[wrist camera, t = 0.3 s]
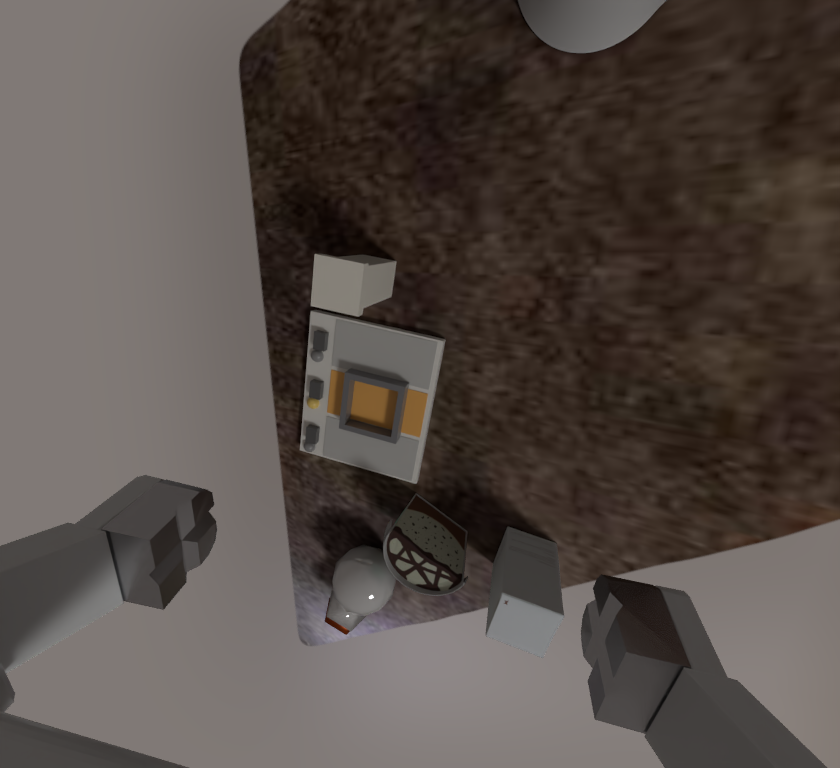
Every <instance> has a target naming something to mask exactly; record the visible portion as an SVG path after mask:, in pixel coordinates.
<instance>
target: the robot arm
mask: <svg viewBox="0 0 840 768" xmlns="http://www.w3.org/2000/svg"><path fill="white" fill-rule="evenodd" d="M665 1H666V0H518V3H519V6H520V9H521V11H522V14H523V16H524V18H525V20H526V22H527V23H528V25H529V26H530V28H531V29H532V31H533V32H534V33H535V34H536V35H537V36H538V37H539V38H540V39H541V40H543V41H544V42H545V43H547V44H548V45H550V46H552V47H554V48H556V49H559V50H562V51H566V52H571V53H589V52H595V51H599V50H603V49H606V48H608V47H611V46H613V45H615V44H617V43H619V42H621V41H622V40H624V39H626V38H627V37H629V36H630V35H632V34H633V33H634V32H635V31H637V30H638V29H639V28H640V27H641V26H642V25H643V24H644V23H645V22H646V21H647V20H648V19H649V18H650V17H651V16H652V15H653V14H654V13H655V11H656V10H657V9H658V8H659V7H660V6H661V5H662V4H663V3H664V2H665ZM213 506H214V502H213V495H212V492H210V491H208V490H206V489H202V488H198V487H194V486H190V485H186V484H182V483H178V482H174V481H170V480H163V479H159V478H155V477H151V476H147V475H144V476H140V477H137V478H135V479H134V480H133V481H131V482H130V483H128V484H127V485H126V486H124V487H123V488H122V489H121V490H119V491H118V492H117V493H115V494H114V495H113V496H111V497H110V498H109V499H107V500H106V501H105V502H103V503H102V504H101V505H99V506H98V507H97V508H96V509H94V510H93V511H92V512H90V513H89V514H88V515H86V516H85V517H84V518H82V519H81V520H80V521H79V522H77V523H76V524H71V523H66V524H63V525H60V526H57V527H54V528H51V529H48V530H45V531H42V532H40V533H37V534H34V535H31V536H28V537H25V538H22V539H19V540H16V541H13V542H10V543H8V544H5V545H2V546H0V768H188V767H185V766H182V765H178V764H175V763H171V762H168V761H164V760H161V759H158V758H155V757H151V756H148V755H144V754H141V753H138V752H135V751H131V750H128V749H125V748H121V747H118V746H115V745H111V744H108V743H105V742H101V741H98V740H95V739H91V738H88V737H84V736H81V735H78V734H74V733H71V732H68V731H64V730H61V729H57V728H54V727H51V726H48V725H44V724H41V723H38V722H34V721H31V720H28V719H24V718H21V717H17V716H14V715H11V714H7V713H4V712H5V710H6V709H7V708H8V707H9V706H10V705H11V704H12V703H13V702H14V696H15V692H14V691H13V688H12V686H11V684H10V682H9V679H8V677H7V675H6V673H8V672H10V671H11V670H13V669H15V668H16V667H18V666H20V665H21V664H23V663H25V662H26V661H28V660H30V659H31V658H33V657H35V656H36V655H38V654H40V653H41V652H43V651H45V650H46V649H48V648H50V647H52V646H53V645H55V644H56V643H58V642H60V641H61V640H63V639H65V638H66V637H68V636H70V635H72V634H73V633H75V632H77V631H78V630H80V629H82V628H83V627H85V626H87V625H88V624H90V623H92V622H93V621H95V620H97V619H99V618H100V617H102V616H104V615H105V614H107V613H108V612H110V611H112V610H114V609H115V608H117V607H119V606H120V605H122V604H123V603H124V601H126V602H131V603H136V604H140V605H145V606H149V607H154V608H159V609H165V607H166V606H167V605H168V604H169V603H170V601H171V600H172V599H173V598H174V596H175V595H176V594H177V593H178V591H180V589H181V588H182V587H183V586H184V585H185V583H186V574H187V571H189V570H192V569H194V568H196V567H198V566H199V565H201V564H202V563H203V561H204V560H205V559H206V557H207V556H208V555H209V553H210V551H211V549H212V547H213V544H214V542H215V539H216V532H217V526H216V521H215V519H214V518H213V517H212V515H211V514H210V513H209V510H210V509H211V508H212V507H213ZM593 590H594V594H595V599H596V600H594V601H592V602H590V603H588V604H587V606H586V609H585V611H584V614H583V619H582V627H581V641H582V649H583V655H584V658H585V659H586V660H587V662H588V663H589V664H590V665H591V667H592V668H593V669H592V672H591V674H590V676H589V679H588V685H589V690H590V696H591V701H592V706H593V712H594V718H595V720H599V721H602V722H606V723H609V724H613V725H616V726H620V727H623V728H627V729H630V730H634V731H637V732H641V733H644V734H646V735H645V738H646V739H647V741H648V742H649V744H650V746H651V747H652V749H653V750H654V752H655V753H656V755H657V756H658V758H659V759H660V761H661V762H662V764H663V766H664V767H665V768H827V767H826V766H825V765H824V764H823V763H822V762H821V761H820V760H819V759H818V758H817V757H816V756H815V755H814V754H813V753H812V752H811V751H810V750H809V749H807V748H806V747H805V746H804V745H803V744H802V743H801V742H800V741H799V740H798V739H797V738H796V737H795V736H794V735H793V734H792V733H791V732H790V731H789V730H788V729H787V728H786V727H785V726H784V725H783V724H782V723H781V722H780V721H779V720H778V719H776V718H775V716H773V715H772V714H771V713H770V712H769V711H768V710H767V709H766V708H765V707H764V706H763V705H762V704H761V703H760V702H759V701H758V700H757V699H756V698H755V697H754V696H753V695H752V694H751V693H750V692H749V691H748V690H747V689H746V688H745V687H744V686H743V685H742V684H741V683H739V682H738V681H737V680H734V679H731V678H728V677H727V676H726V673H725V671H724V669H723V667H722V665H721V663H720V660H719V658H718V656H717V654H716V652H715V650H714V648H713V646H712V643H711V642H710V639H709V637H708V635H707V633H706V631H705V629H704V626H703V624H702V622H701V620H700V618H699V616H698V614H697V611H696V609H695V607H694V605H693V603H692V601H691V599H690V597H689V596H688V595H687V594H686V593H685V592H684V591H681V590H676V589H671V588H666V587H661V586H653V585H650V584H645V583H640V582H635V581H631V580H626V579H621V578H616V577H611V576H607V575H602V574H601V575H600V576H599V577H598V578H597V580H596V582H595V585H594V587H593Z"/></svg>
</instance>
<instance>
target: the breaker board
mask: <svg viewBox="0 0 840 768" xmlns="http://www.w3.org/2000/svg"><path fill="white" fill-rule="evenodd" d="M445 340H446V339H442V338H438V337H434V336H429V335H425V334H420V333H416V332H412V331H407V330H403V329H398V328H394V327H390V326H385V325H381V324H376V323H372V322H368V321H363V320H359V319H354V318H350V317H346V316H341V315H337V314H332V313H328V312H323V311H319V310H312V311H311V314H310V327H309V340H308V352H307V365H306V378H305V391H304V404H303V417H302V430H301V443H300V450H301V451H304V452H308V453H311V454H315V455H318V456H321V457H325V458H328V459H332V460H335V461H339V462H342V463H346V464H349V465H353V466H356V467H359V468H363V469H366V470H370V471H373V472H377V473H380V474H384V475H387V476H391V477H394V478H397V479H401V480H404V481H408V482H411V483H415V484H416V483H417V481H418V479H419V474H420V468H421V463H422V458H423V453H424V448H425V443H426V437H427V432H428V427H429V422H430V417H431V412H432V407H433V401H434V396H435V391H436V386H437V381H438V376H439V371H440V365H441V360H442V355H443V350H444V345H445Z"/></svg>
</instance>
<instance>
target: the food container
mask: <svg viewBox="0 0 840 768" xmlns="http://www.w3.org/2000/svg"><path fill="white" fill-rule="evenodd" d="M391 525H392V519H391V520H390V522H389V523H388V525H387V528H386V530H385V535H384V540H383V554H384V559H385V562H386V565H387V567H388V569H389V570H390V572H391V573H392V575H393V576H394V577H395V578H396V579H397V580H398V581H399V582H400V583H402V584H403V585H404V586H406V587H407V588H409V589H411V590H413V591H416V592H418V593H421V594H425V595H433V596H441V595H447V594H450V593H453V592H455V591H457V590H459V589H460V588H461V587H462V586H463V585H464V584H465V583H466V581H467V579H468V576H467V577H466V578H465V579H464V570H465V558H466V546H467V533H468V531H466V530H465V529H464V528H462V527H461V526H460V525H458V524H457V523H456V522H454V521H453V520H452V519H450V518H449V517H448V516H446V515H445V514H444V513H442V512H441V511H440V510H438V509H437V508H436V507H434V506H433V505H432V504H431V503H429V502H428V501H427V500H425V499H424V498H423V497H421V496H420V495H419V494H417V493H416V494H415V495H414V496H413V498H412V499H411V501H410V502H409V504H408V505H407V506H406V508H405V509H404V511H403V512H402V514H401V515H400V517H399V518H398V519H397V521H396V522H395V524H394V525H393V527H391Z"/></svg>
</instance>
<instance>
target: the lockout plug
mask: <svg viewBox="0 0 840 768" xmlns="http://www.w3.org/2000/svg"><path fill="white" fill-rule="evenodd" d="M396 262H397V261H393V260H388V259H383V258H378V257H373V256H368V255H352V256H342V257H335V256H331V255H326V254H321V253H319V254H315V257H314V270H313V283H312V296H311V306H313V307H318V308H322V309H326V310H331V311H335V312H340V313H344V314H349V315H353V316H357V317H358V316H361V315H362V314H363V308H365V307H368V306H370V305H373V304H375V303H378V302H380V301H382V300H385V299H387V298H390V297H391V296H392V289H393V282H394V275H395V269H396Z"/></svg>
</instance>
